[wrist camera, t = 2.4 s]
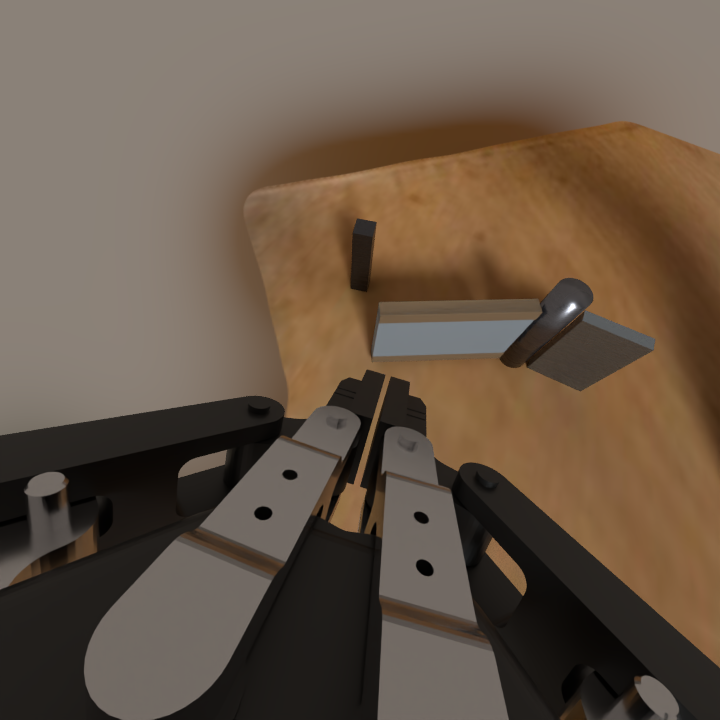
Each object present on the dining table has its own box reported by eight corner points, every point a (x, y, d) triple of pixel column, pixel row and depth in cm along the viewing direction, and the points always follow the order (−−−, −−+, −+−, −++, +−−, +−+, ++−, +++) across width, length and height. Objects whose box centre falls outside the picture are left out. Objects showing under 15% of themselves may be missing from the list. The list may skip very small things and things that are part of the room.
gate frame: (584, 377, 39) (676, 320, 29) (577, 399, 38) (672, 349, 27) (356, 271, 44) (361, 188, 33) (344, 289, 43) (345, 208, 32)
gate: (496, 346, 39) (538, 298, 31) (499, 358, 39) (542, 312, 30) (370, 350, 38) (378, 301, 30) (371, 362, 38) (380, 316, 30)
